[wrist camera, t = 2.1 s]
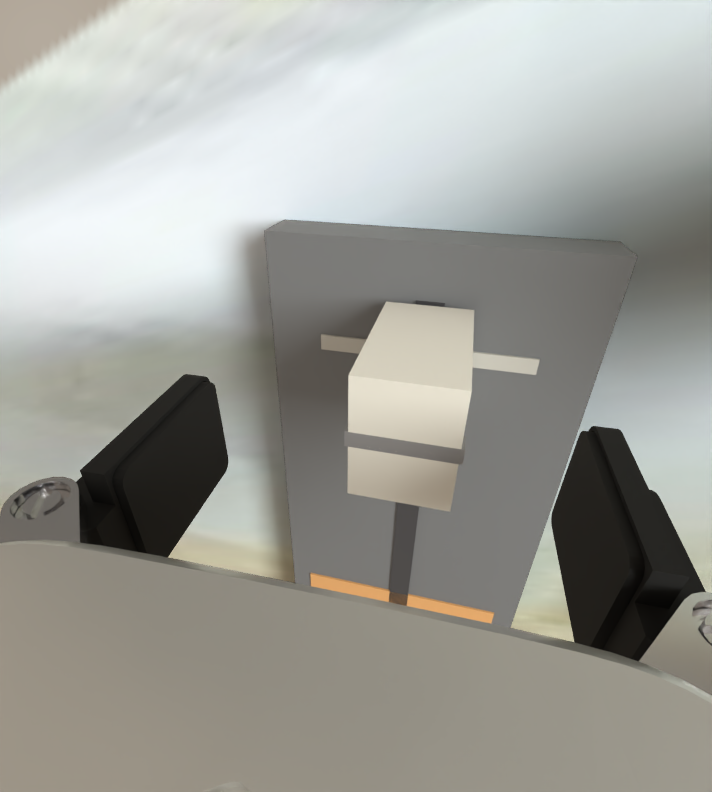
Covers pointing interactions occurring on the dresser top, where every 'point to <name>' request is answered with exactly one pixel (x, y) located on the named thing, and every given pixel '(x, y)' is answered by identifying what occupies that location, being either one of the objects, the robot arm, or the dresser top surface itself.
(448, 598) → the fader board
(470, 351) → the fader tab
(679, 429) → the dresser top surface
